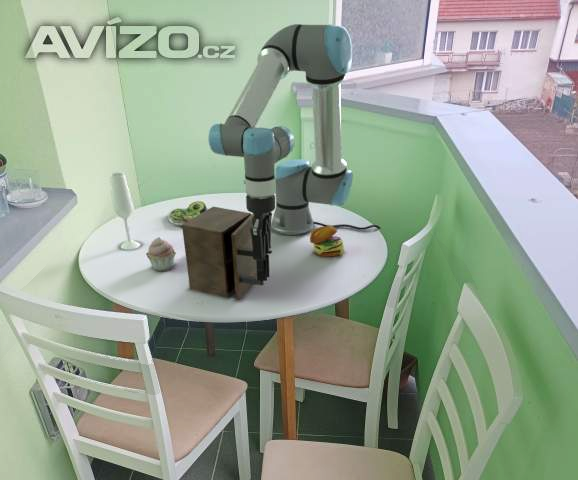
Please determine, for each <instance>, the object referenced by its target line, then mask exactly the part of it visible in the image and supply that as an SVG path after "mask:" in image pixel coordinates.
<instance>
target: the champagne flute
mask: <svg viewBox="0 0 578 480" xmlns="http://www.w3.org/2000/svg"><path fill="white" fill-rule="evenodd" d="M109 184H110V192H111V193H110V194H111V203H112V210H113V212H114V214H116V216H118V217H119V218H121V219H123V223H124V228H125V229H124V230H125V233H126V239H127V240H125V242H124V243H122V244H120V249H122V250H126V251H131V250H136V249H139V248H140V246H141V243H140V242H138V241H135V240H133V239H132V238H131V232H130V227H129V226H130V225H129V221H128V218H129V217H130V216H131V215H132V214H133V213H134V210H135V207H134V203H133V200H132V195H131V192H130V189H129V186H128V181H127V177H126V174H125V173H124V172H112V173H110V174H109Z"/></svg>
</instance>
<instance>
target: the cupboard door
mask: <svg viewBox="0 0 578 480" xmlns="http://www.w3.org/2000/svg"><path fill="white" fill-rule="evenodd" d="M252 218H254V214H253V213H251V215H250V216H249V217H248V218H247V219H246V220H245V221H244V222H243V223H242V224H241V225H240V226H239V227H238V228H237V230H236V231H235V232H234V233H233V234H232V235H231V236H232V250H233V264H234V277H235V300H236V301H240V300H241V299H242V297H243V296H244V295H245V294H246V292H247V291H248V290H249V288H250V287H251V286H252V285H255V286H256V285H257V286H264V284H265V281H261V280H257V262H256V260H254V259H253V257H254V256H253V246H252V236H251V232H250V228H253V224H252Z"/></svg>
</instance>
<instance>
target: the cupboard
mask: <svg viewBox="0 0 578 480" xmlns="http://www.w3.org/2000/svg"><path fill="white" fill-rule="evenodd" d="M251 214H252V212H247V211H241V210H235V209H229V208H225V207H217V206H211V207H209V209H208V210H206V211H205V212H203V213H201V214H199V215H198V216H196V217H194V218H193V219H191V220H189V221H187V222H186V223H184V224H182V227H181V228H182V229H181V230H182V236H183V244H184V251H185V252H184V253H185V261H186V268H187V275H188V277H187V278H188V285H189V290H191V291H196V292H200V293H205V294H208V295H212V296H216V297H221V298H224V299H228V298H229V297H230V296H231V295H233V294H234V293H236V291H235V277H234V264H233V250H232V236H231V235H232V234H233V233H234V232H235V231H236V230H237V228H238V227H239V226H240V225H241V224H242V223H243V222H244V221H245V220H246V219H247V218H248V217H249V216H250V215H251Z"/></svg>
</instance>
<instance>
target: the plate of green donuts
mask: <svg viewBox="0 0 578 480" xmlns="http://www.w3.org/2000/svg"><path fill="white" fill-rule="evenodd" d="M208 209H210V207H207V205H206V204H205V203H204V201H202V200H201V201H200V200H199V201H193V202H191V203H190V204H189V205H188V206H187V207H179V208H174V209H172V210H170V211H169V212H168V214H167V218H168V222H169V223H170V224H171V225H174V226H175V227H178V228H182V224H184V223H186V222H187V221H189V220H191V219H193V218H194V217H196V216H198V215H199V214H201V213H203V212H205V211H206V210H208Z"/></svg>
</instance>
